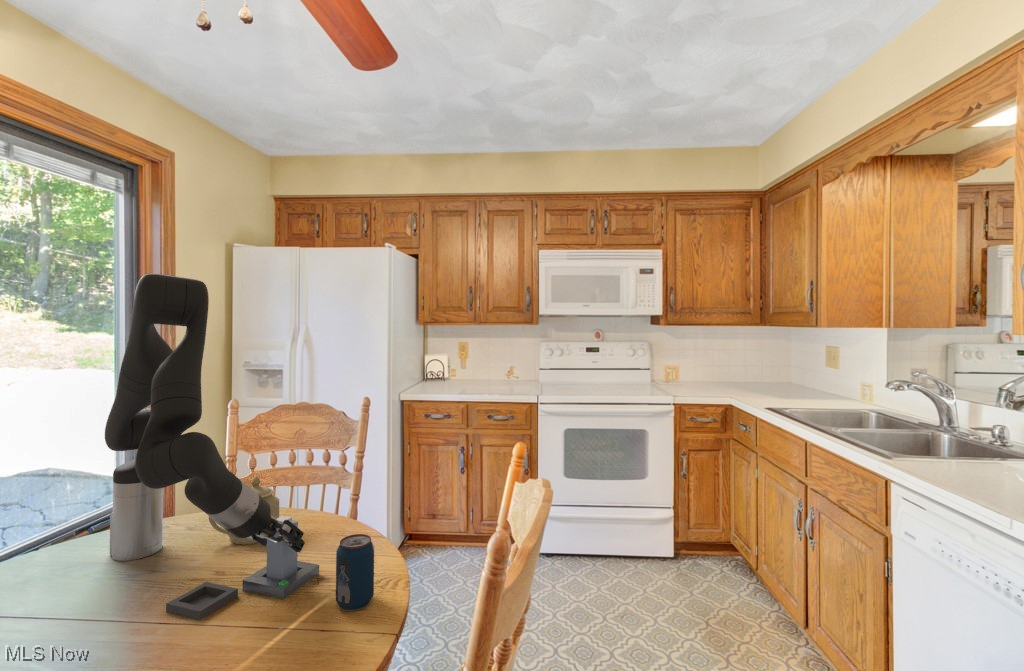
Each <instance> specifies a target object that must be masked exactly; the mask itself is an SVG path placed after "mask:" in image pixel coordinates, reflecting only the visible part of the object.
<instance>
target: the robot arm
mask: <svg viewBox="0 0 1024 671" xmlns="http://www.w3.org/2000/svg"><path fill="white" fill-rule="evenodd" d="M209 301H210V300H209V291H208V288H207V284H205V282H203V281H201V280H199V279H194V278H189V277H182V276H175V275H169V274H161V273H146V274H144V275H142V276H141V278H140V279H139V280H138V282H137V284H136V288H135V291H134V297H133V301H132V302H133V303H132V311H131V319H130V320H131V321H130V330H129V333H128V334H129V336H128V340H127V343H126V348H125V351H124V354H123V358H122V361H121V364H120V365H121V366H120V369H119V375H118V382H117V387H116V388H117V389H116V393H115V398H114V401H113V404H112V405H111V408H110V412H109V414H108V417H107V420H106V423H105V428H104V440H105V444H106V447H108V449H110V450H111V451H114V452H125V451H135V450H137V452H136V456H135V458H134V459H132V460H130V461H127V462H124V463H123V464H121V465H119V466H117V467H116V468H115V469H114V470H113V472H112V473H113V474H112V512H111V513H110V515H109V555H110V556H111V558H112V560H114V561H119V562H120V561H121V562H122V561H123V562H124V561H133V560H139V559H143V558H147V557H149V556H151V555H154V554H156V553H158V552H159V551H160V550H162V548H163V534H164V533H163V531H164V530H163V528H164V527H163V526H164V525H163V524H164V521H163V520H164V513H163V512H164V488H167V487H170V486H172V485H173V486H174V485H175V484H178V483H181V482H184V481H186V480H187V482H186V484H185V486H184V494H185V497H186V499H187V500H188V501H189V502H190V503H191V504H192V505H194V506H195V507H197V508H198V509H200V510H201V511H202V512H204V513H205V514H206V515H207V517H208V518H209V517H210V518H211V519H212V520H213V521H214V522H215V523H216V524H217V525H218V526H219V527H221V528H223V529H225V530H227V531H228V532H229V533H231V534H232V535H234V536H235V537H237V538H248V539H253V540H254V541H256V542H257V543H256V544H258V545H260V546H261V547H267V539H268V540H271V541H273V542H275V543H279V542H282V543H284V544H286V545H288V546H289V547H291V548H292V549H293V550H294V551H296V552H297V553H300V552H302V550H303V548H304V545H305V544H306V542H305V540H303V536H304V534H305V532H303V531H302V530H301V529H300V528H299V527H298V528H297V527H296V526H295V525H294V524H292V523H291V522H290V521H289V520H284V522H281V521H279V520H277V519H276V518H275V517H273V516H271V508H270V505H269V503H268V502H267V501H266V500H265V499H264V498H263V497H261V496H260V495H259V494H258V493H257V492H256V491H255V490H253V489H252V488H251V487H252V486H250V485H249V484H248V483H246V482H244V481H242V480H241V479H240V478H239V477H238V476H236V475H235V474H233V472H231V471H230V470H229V469H228V467H227V465H226V463H225V462H224V460H223V458H222V457H221V455H220V451H218V448H217V446H216V444H215V442H214V440H213V439H212V438H211V437H210V436H208V435H206V434H205V433H203V432H202V433H201V432H199V431H191V432H189V431H188V432H186V431H187V430H188V429H190V428H191V427H194V426H195V425H196V424H197V423H199V422H200V420H201V418H202V414H203V406H202V405H203V403H202V402H203V401H202V400H203V399H202V397H203V396H202V367H203V359H204V350H205V345H206V336H207V324H208V317H209V303H210V302H209ZM155 325H163V326H165V325H166V326H176V327H177V326H178V327H186V330H185V334H184V336H183V337H182V339H181V341H180V342H179V344H178V345H177V346H176V347H175V348H174V350H173V349H172V348H171V346H170V345H169V344H168V342H167V341H165V339H164V338H163V337H162V336H161V335H160V333H159V331H158V330H157V329H156V326H155ZM149 406H150V407H149ZM184 432H186V433H184ZM277 530H278V534H279V535H278V537H277V538H275V537H273V536H274V535H275V533H276V532H277ZM284 538H285V539H284Z"/></svg>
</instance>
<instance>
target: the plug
mask: <svg viewBox="0 0 1024 671" xmlns="http://www.w3.org/2000/svg"><path fill="white" fill-rule="evenodd" d="M277 520H279V521H281V522H284V520H289V521H290V522H291V523H292V524H294V525H295V526H296V527H297V528H299V521H298V520H293V517H292V516H286V515H281V516H279V518H277ZM278 535H279V534H278V530H277V532H276V533H275V535H274V536H273V537H275V538H277V537H278ZM284 539H285V538H284ZM297 561H298V552H296V551H294V550H293V549H292V548H291V547H289V546H288V545H286V544H284V543H282V542H279V543H275V542H273V541H271V540H268V539H267V545H266V566H267V575H266V578H271V579H276V580H281V581H282V580H285V579H287V578H289V577H290V576H292V575H293V574H295V573H296V572H297Z"/></svg>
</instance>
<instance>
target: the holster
mask: <svg viewBox="0 0 1024 671" xmlns="http://www.w3.org/2000/svg"><path fill="white" fill-rule="evenodd" d="M238 597H239V589H238V588H237V587H232V586H227V585H222V584H218V583H214V582H209V581H205V582H203V583H201V584H199V585H198V586H196V587H194V588H192V589H190V590H189V591H186V592H184V593H182V594H181V595H180V596H177V597H175V598H174V599H172V600H170V601H168V602H167V603H165V613H169V614H173V615H176V616H180V617H184V618H189V619H193V620H197V621H201V620H203V619H204V618H206V617H207V616H209V615H211V614H213V613H214V612H216V611H217V610H218V609H220V608H222V607H224V606H225V605H226V604H228V603H230V602H232V601H233V600H235V599H236V598H238Z"/></svg>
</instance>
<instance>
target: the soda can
mask: <svg viewBox="0 0 1024 671" xmlns="http://www.w3.org/2000/svg"><path fill="white" fill-rule="evenodd" d="M335 552H336V555H335V556H336V557H335V558H336V559H335V602H336V603H337V605H338V607H339V608H340V609H341V610H342V611H345V612H356V611H359V610H362V609H364V608H366V607H367V606H368V605H369V604H370V602H371V601H372V599H373V597H374V595H375V592H374V591H375V588H374V587H375V578H374V576H375V546H374V544H373V541H372V537H371V536H370V535H368V534H364V533H357V534H350V535H347V536H345V537H342V539H341V540H339V545H338V547H337V549H336V551H335Z"/></svg>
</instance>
